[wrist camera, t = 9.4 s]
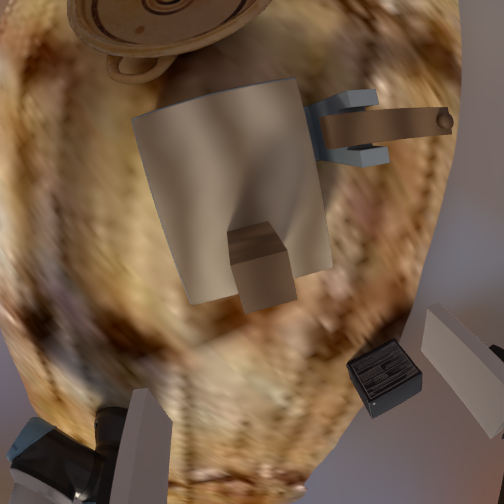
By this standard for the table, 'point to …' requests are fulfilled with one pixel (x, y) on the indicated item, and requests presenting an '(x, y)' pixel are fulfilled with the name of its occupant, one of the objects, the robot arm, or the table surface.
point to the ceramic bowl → (156, 28)
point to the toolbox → (330, 106)
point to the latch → (384, 125)
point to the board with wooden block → (238, 193)
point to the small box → (385, 377)
